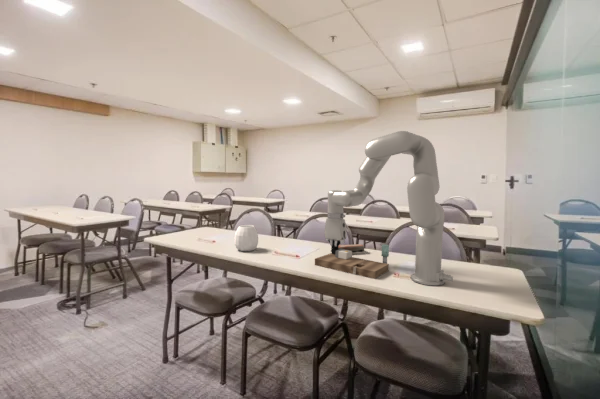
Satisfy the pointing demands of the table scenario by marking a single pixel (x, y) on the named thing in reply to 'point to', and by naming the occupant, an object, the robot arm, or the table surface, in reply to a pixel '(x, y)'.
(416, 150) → the robot arm
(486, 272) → the table surface
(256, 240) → the white faceted vase
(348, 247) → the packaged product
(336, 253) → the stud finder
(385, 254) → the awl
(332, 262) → the subfloor panel
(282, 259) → the table surface
